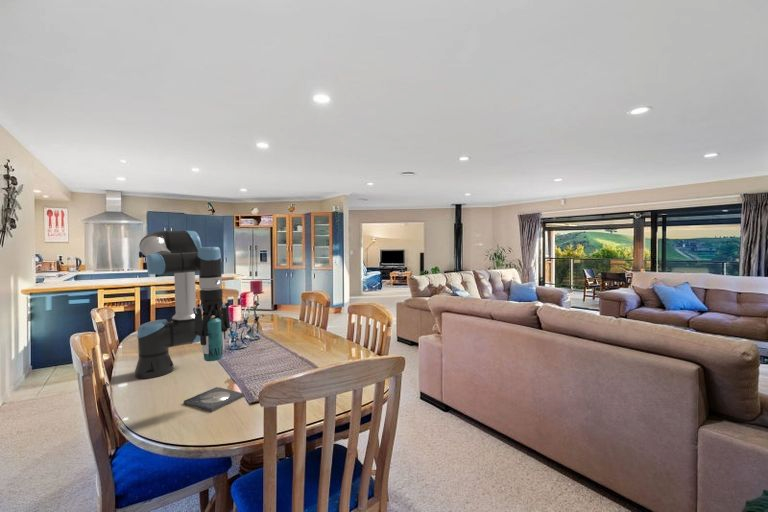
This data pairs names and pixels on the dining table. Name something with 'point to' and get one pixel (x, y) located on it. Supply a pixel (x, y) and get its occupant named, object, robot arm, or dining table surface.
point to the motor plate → (214, 399)
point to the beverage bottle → (214, 338)
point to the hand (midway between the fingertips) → (213, 350)
